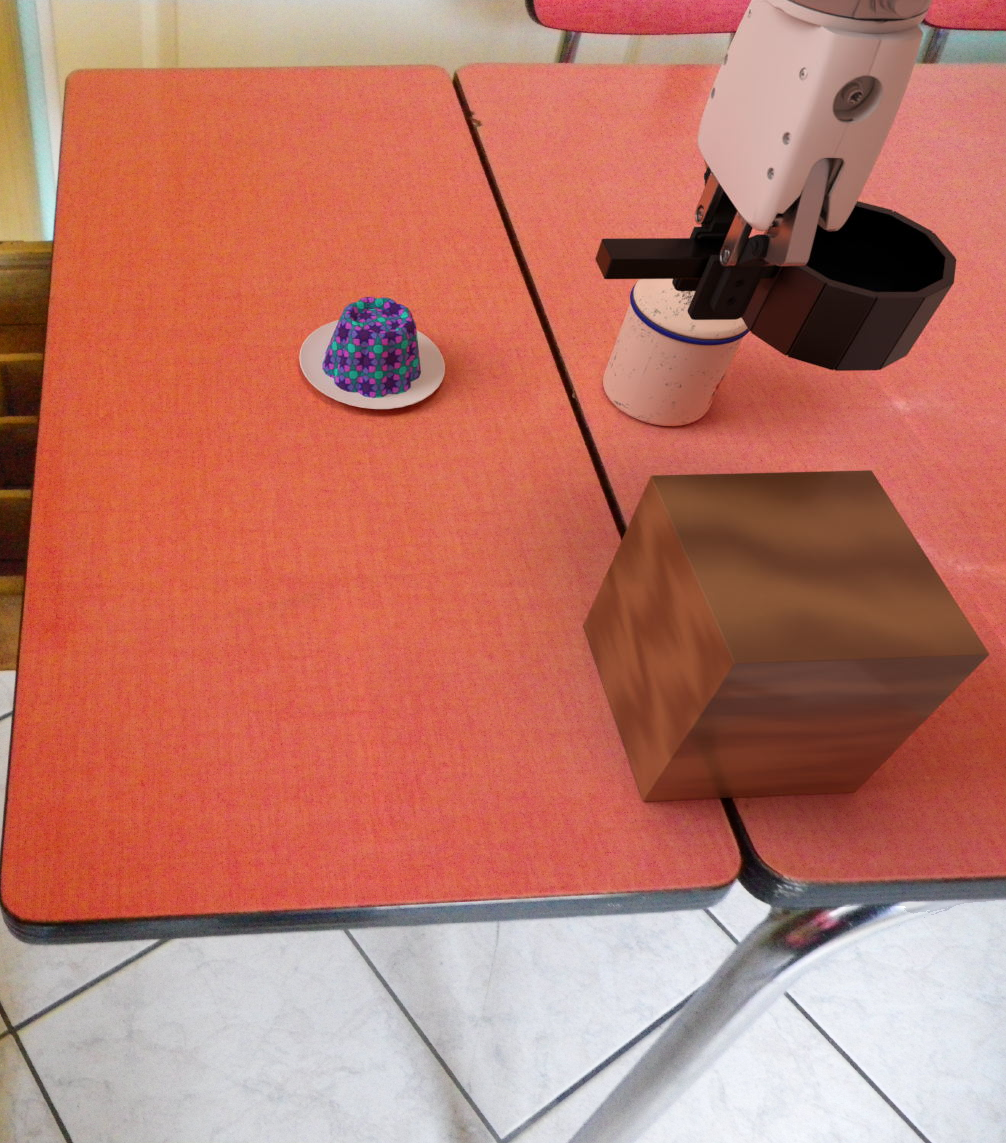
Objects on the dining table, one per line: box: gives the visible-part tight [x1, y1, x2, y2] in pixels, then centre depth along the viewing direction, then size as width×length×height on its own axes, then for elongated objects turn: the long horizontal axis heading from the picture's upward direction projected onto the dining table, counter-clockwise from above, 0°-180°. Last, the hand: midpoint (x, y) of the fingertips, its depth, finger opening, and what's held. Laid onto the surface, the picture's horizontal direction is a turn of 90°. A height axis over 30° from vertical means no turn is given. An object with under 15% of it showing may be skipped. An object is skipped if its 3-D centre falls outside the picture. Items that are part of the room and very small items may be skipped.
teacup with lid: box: [602, 279, 750, 427], centre depth 82 cm, size 12×9×12 cm
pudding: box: [298, 296, 446, 410], centre depth 85 cm, size 12×12×5 cm
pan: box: [594, 200, 957, 372], centre depth 61 cm, size 20×10×5 cm, turn 93°
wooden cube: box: [582, 469, 990, 803], centre depth 61 cm, size 13×13×14 cm
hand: (706, 300), depth 62 cm, fingers closed on pan
